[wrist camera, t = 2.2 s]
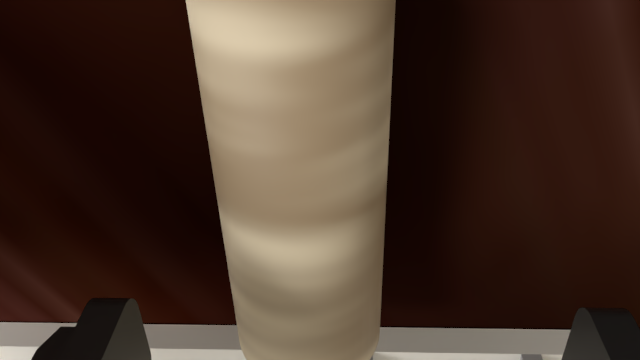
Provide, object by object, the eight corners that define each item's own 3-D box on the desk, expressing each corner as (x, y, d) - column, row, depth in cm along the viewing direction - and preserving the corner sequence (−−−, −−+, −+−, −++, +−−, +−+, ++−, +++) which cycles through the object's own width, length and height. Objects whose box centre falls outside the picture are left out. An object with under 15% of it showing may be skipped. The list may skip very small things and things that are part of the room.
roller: (279, -65, 13) (136, -21, 11) (436, -40, 11) (305, 23, 9) (299, 260, 19) (209, 339, 17) (406, 316, 17) (321, 415, 15)
